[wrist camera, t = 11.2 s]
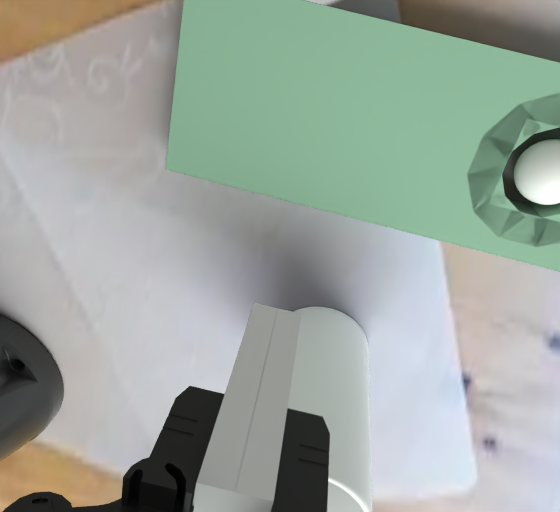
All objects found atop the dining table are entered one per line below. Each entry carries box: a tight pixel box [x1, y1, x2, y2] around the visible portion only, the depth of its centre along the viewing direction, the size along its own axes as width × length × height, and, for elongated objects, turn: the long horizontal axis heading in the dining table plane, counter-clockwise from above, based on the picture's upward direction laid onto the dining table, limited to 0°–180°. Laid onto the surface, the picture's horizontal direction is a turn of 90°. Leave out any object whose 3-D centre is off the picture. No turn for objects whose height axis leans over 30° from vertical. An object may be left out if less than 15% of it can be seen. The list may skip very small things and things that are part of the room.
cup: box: [288, 306, 372, 512], centre depth 34 cm, size 8×8×16 cm
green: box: [165, 0, 560, 272], centre depth 31 cm, size 30×12×4 cm, turn 78°
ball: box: [514, 139, 560, 205], centre depth 30 cm, size 4×4×4 cm
